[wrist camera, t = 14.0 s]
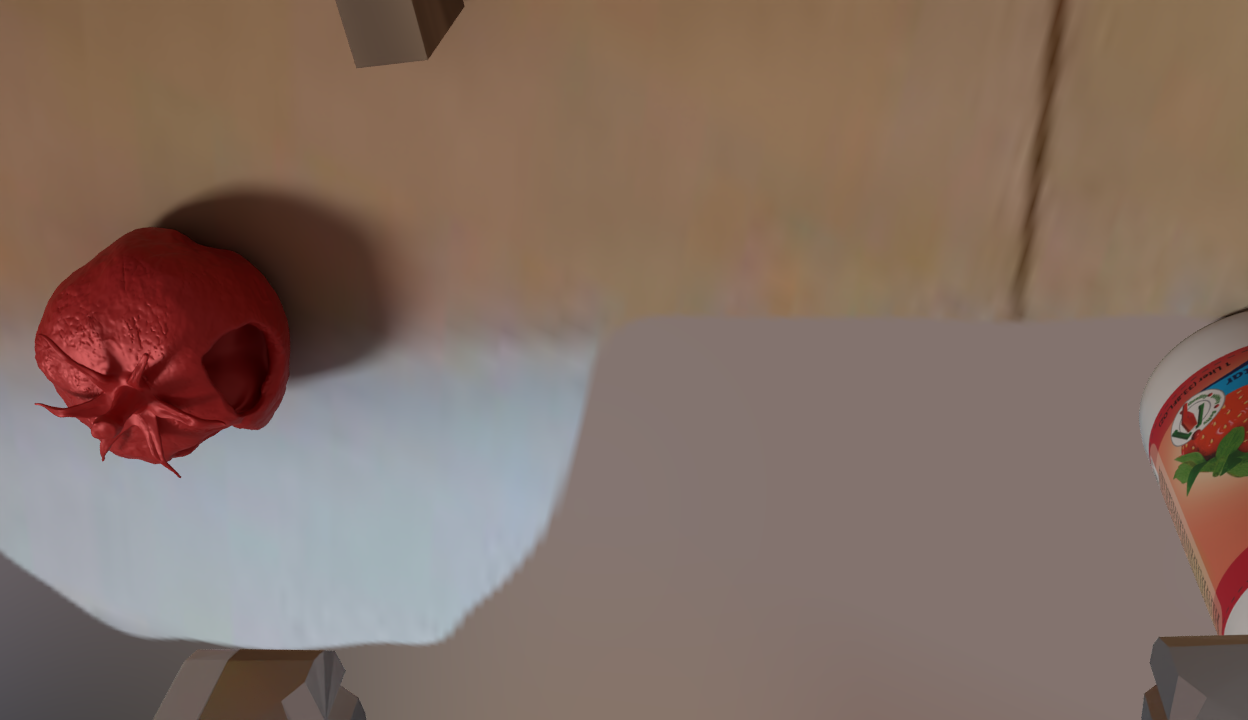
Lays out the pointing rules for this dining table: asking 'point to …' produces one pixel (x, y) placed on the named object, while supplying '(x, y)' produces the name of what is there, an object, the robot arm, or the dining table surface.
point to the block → (395, 28)
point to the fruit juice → (1206, 459)
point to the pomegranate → (164, 345)
